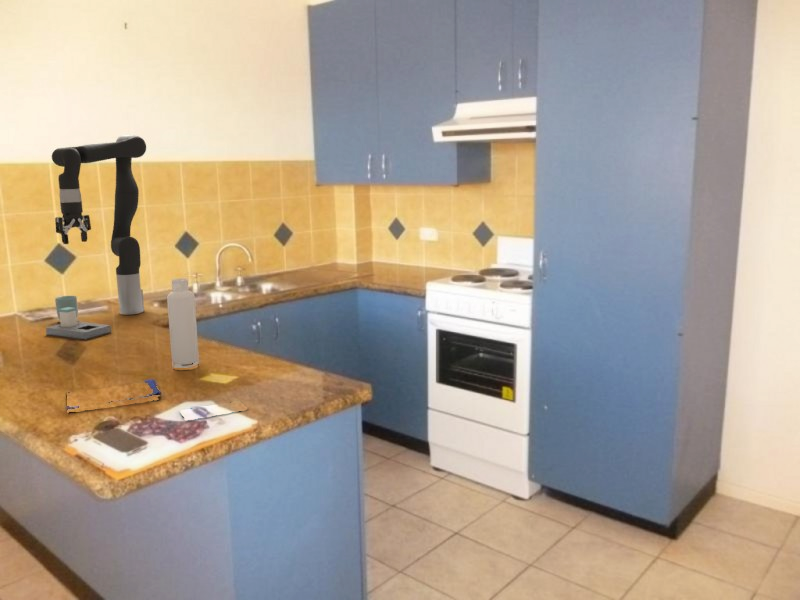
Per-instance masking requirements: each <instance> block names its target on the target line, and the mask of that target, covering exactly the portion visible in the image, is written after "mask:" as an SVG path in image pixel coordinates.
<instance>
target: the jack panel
mask: <svg viewBox="0 0 800 600" xmlns="http://www.w3.org/2000/svg"><path fill="white" fill-rule="evenodd" d="M45 333H46V336H50V337H56V338H65V339H72V340H73V339H74V340H80V341H88V340H92V339H95V338H98V337H102V336H106V335H108V334H112V326H111V325H109V324H102V323H96V322H95V323H93V322H86V321H85V322H84V321H78V320H77V325H75V326H72V327H61V323H58V324H54V325H50V326H46V327H45Z"/></svg>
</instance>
